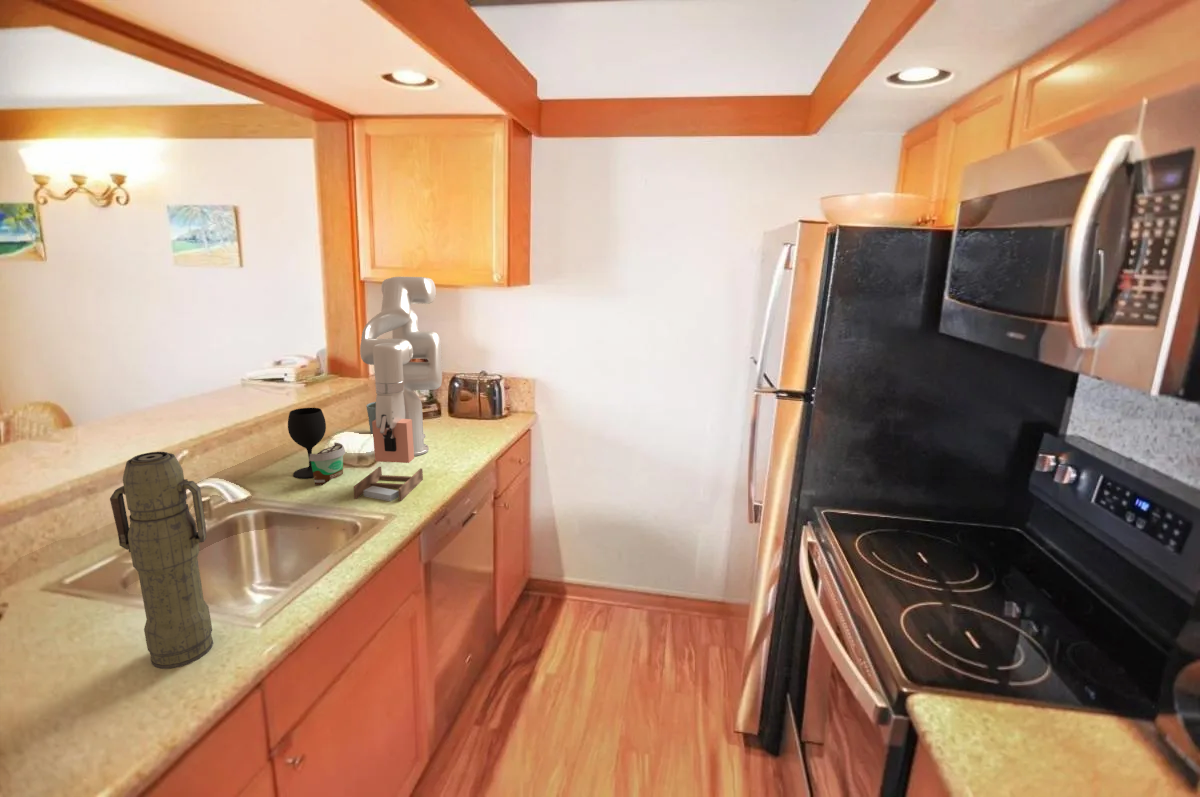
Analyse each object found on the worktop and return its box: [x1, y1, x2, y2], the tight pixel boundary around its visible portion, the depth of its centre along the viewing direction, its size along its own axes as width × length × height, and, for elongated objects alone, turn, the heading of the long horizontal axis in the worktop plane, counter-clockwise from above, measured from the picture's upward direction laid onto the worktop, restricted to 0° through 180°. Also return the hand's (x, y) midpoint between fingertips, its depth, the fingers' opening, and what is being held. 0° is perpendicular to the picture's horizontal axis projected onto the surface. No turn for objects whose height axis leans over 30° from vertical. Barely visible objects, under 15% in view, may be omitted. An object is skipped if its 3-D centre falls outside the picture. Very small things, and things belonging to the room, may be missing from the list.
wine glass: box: [287, 407, 327, 480], centre depth 178 cm, size 10×10×20 cm
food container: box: [308, 442, 346, 486], centre depth 173 cm, size 12×6×10 cm, turn 168°
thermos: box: [109, 451, 214, 670], centre depth 94 cm, size 9×12×35 cm
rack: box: [353, 466, 424, 502], centre depth 165 cm, size 16×13×5 cm
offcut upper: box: [363, 486, 399, 502], centre depth 160 cm, size 4×9×2 cm, turn 70°
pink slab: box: [372, 419, 415, 464], centre depth 167 cm, size 4×10×12 cm, turn 86°
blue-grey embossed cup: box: [366, 401, 376, 435], centre depth 219 cm, size 10×10×12 cm
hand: (394, 447), depth 167 cm, fingers closed on pink slab, 4 cm apart
